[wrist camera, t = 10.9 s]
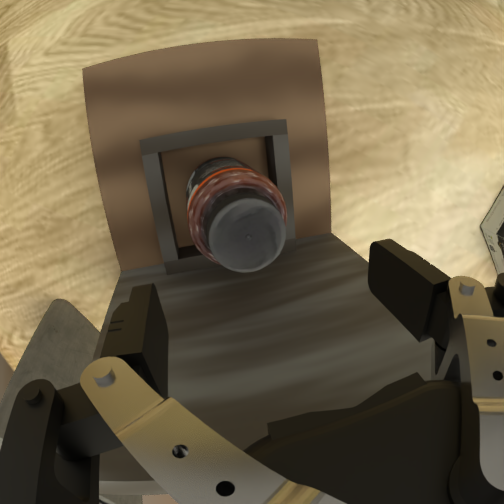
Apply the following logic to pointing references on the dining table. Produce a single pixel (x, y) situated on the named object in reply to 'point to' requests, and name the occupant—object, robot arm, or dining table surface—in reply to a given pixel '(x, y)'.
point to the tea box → (495, 232)
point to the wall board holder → (217, 276)
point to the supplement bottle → (235, 215)
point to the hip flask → (57, 364)
